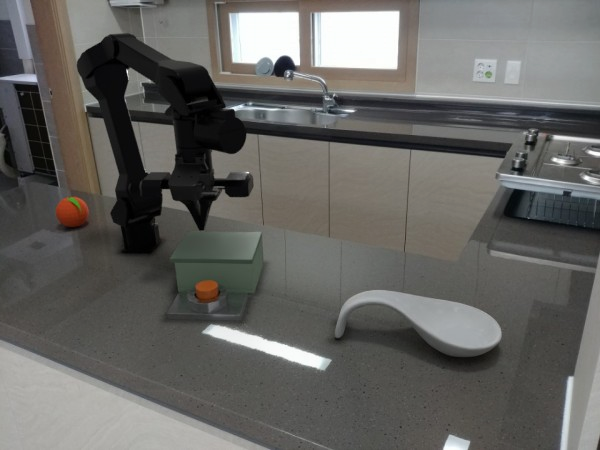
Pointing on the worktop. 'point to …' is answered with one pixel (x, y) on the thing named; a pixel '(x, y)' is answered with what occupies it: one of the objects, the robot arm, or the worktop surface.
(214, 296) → the button
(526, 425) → the worktop surface
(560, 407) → the worktop surface
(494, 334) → the spoon rest
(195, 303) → the control panel
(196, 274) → the fryer
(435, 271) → the worktop surface
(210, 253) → the lid
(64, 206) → the clementine
